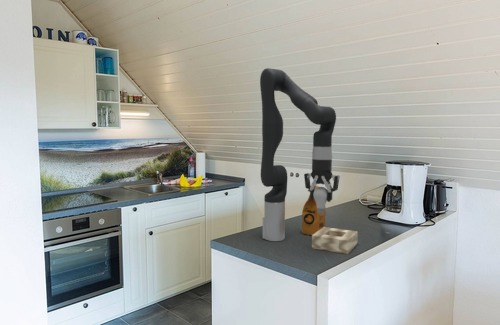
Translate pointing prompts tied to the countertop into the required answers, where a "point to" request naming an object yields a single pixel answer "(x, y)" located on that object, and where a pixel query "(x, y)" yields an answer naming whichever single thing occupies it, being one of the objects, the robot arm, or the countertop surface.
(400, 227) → the countertop surface
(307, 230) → the coffee package
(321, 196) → the lightbulb
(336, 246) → the block
